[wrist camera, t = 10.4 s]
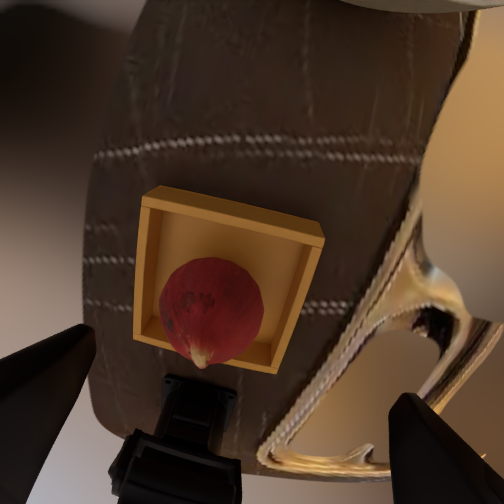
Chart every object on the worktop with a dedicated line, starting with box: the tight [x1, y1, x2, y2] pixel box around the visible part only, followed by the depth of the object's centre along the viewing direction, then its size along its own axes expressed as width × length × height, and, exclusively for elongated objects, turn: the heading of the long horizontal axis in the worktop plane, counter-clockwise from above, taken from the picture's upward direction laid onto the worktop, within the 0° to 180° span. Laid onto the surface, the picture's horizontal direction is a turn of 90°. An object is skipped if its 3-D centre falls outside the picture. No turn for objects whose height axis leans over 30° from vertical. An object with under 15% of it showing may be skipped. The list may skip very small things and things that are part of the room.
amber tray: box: [133, 185, 325, 374], centre depth 20 cm, size 10×10×3 cm
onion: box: [159, 257, 264, 369], centre depth 17 cm, size 6×6×8 cm
